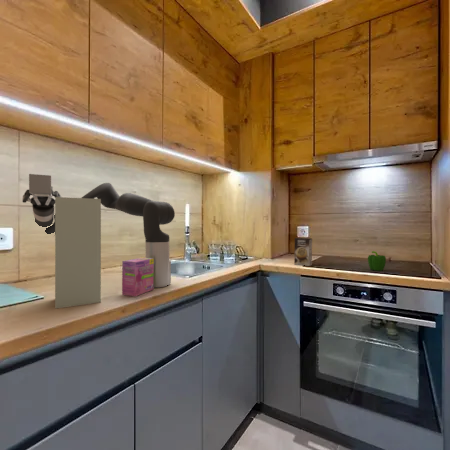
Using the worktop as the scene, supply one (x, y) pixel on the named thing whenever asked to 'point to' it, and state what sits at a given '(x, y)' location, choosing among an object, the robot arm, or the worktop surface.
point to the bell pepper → (376, 261)
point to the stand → (77, 251)
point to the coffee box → (303, 251)
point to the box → (137, 276)
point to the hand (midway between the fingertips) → (42, 186)
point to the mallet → (40, 185)
